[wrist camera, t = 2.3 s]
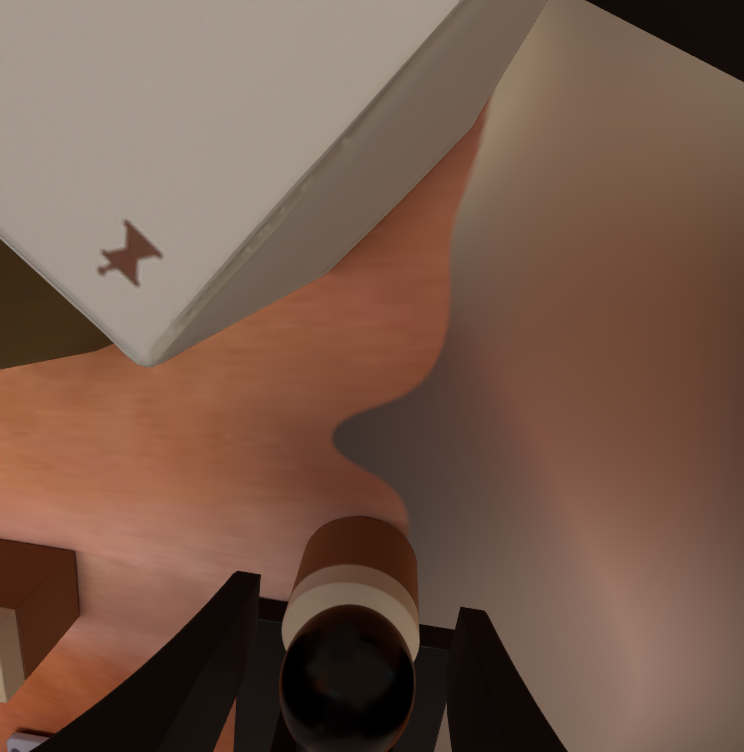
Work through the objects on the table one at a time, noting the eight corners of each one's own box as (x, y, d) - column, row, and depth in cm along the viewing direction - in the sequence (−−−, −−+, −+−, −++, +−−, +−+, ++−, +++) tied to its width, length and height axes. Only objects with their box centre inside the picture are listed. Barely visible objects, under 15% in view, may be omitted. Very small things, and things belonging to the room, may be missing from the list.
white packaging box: (480, 124, 15) (768, -273, 3) (323, 279, 17) (130, 400, 5) (323, -74, 14) (-206, -2028, 2) (173, 118, 16) (-571, -230, 4)
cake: (407, 618, 22) (407, 701, 18) (299, 600, 22) (276, 679, 18) (425, 526, 20) (430, 595, 16) (308, 507, 20) (286, 572, 16)
